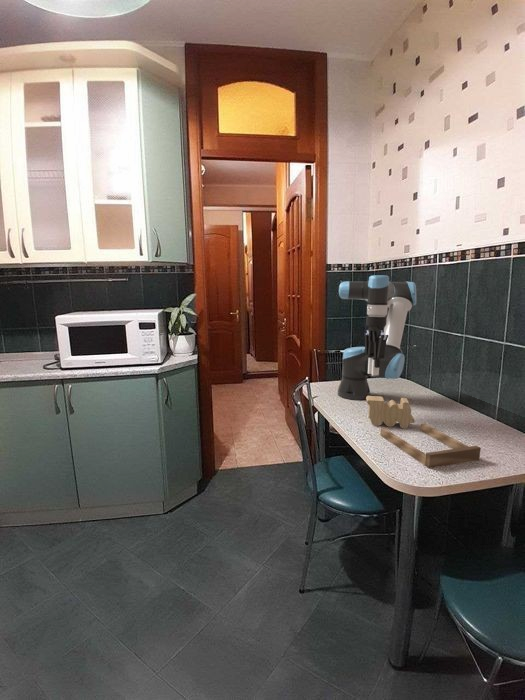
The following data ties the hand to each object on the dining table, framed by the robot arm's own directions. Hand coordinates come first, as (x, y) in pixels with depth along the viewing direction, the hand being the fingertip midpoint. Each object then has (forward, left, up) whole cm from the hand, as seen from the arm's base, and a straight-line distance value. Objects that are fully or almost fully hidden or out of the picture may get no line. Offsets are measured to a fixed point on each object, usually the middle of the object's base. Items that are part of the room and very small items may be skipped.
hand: (373, 374), depth 140 cm
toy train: (+12, 0, -17) cm, 21 cm away
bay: (+31, 0, -16) cm, 35 cm away
